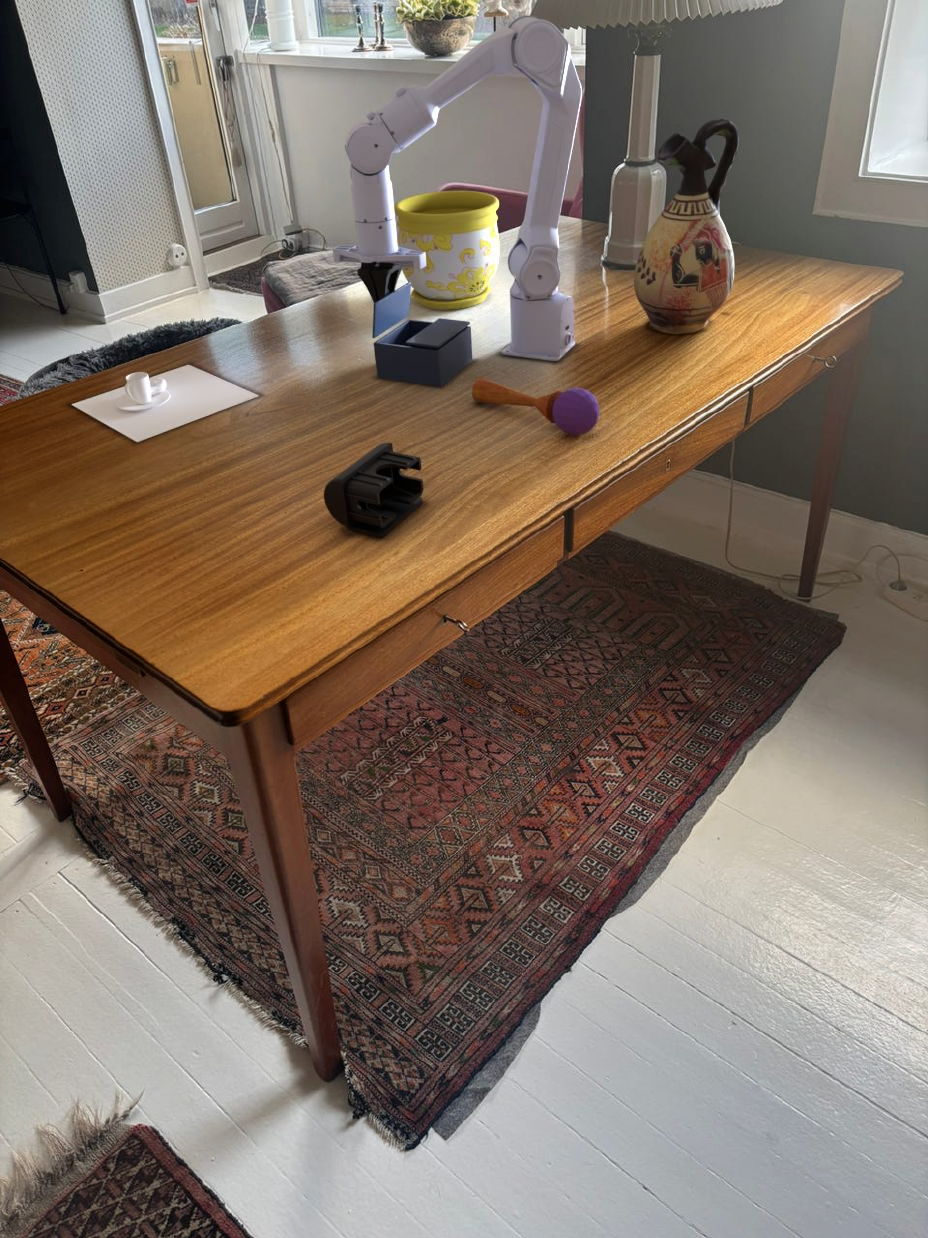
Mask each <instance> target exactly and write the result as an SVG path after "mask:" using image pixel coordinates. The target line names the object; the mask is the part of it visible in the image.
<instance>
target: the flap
mask: <svg viewBox="0 0 928 1238" xmlns="http://www.w3.org/2000/svg"><path fill="white" fill-rule="evenodd" d="M411 294H412V286H411V282H408V281H407V283H405V284H403V285H401V286H400V287H399V288H397V289H395V291H393V292H392V293H390V294H388V295H387V296H385V297H384V298H382V299H380V300H379V301H377V302H375V303H373V310H372V311H373V312H372V334H371V335H372V336H371V339H376V338H377V337H379V336H380V335H382V334H383V333H385V332H387V331H389V330H390V329H391V328H392V327H394V326H396V325H398V323H400V322H401V321H403V320H404V319H406V318H407V317H409V316H410V305H411Z"/></svg>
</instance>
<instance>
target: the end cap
mask: <svg viewBox="0 0 928 1238" xmlns="http://www.w3.org/2000/svg"><path fill="white" fill-rule="evenodd" d="M422 469H423V468H422V459H421V457H420V456H416V455H410V454H408V453H407V454H406V453H401V452H397V451H394V445H393V443H392V442H382V443H379V444H377V445H376V446H375V447H374V448H372V449H371V450H370V451H368V452H367V453H366V454H364V455H363V456H362V457H360V458H359V459H358V460H356V461H355V462H354V463H352V464H350V465H349V466H348V467H346V469H344V470H343V471H341V472H340V473H339V474H337V475H336V476H335V477H333V478H332V479H330V480H329V481H328V482H327V483H326V484H325V487H324V489H323V500H324V505H325V507H326V509H327V511H328V513H329V514H330V515H331V517H332V518H333V519H334V520H335V521H336V522H338V523H339V524H340V525H342V526H343V527H345V528H346V529H347V530H349V531H351V532H354V533H357V534H359V535H360V534H361V535H364V536H368V537H371V538H376V539H384V538H386V536H388V535H389V534H390V533H391V532H392V531H393V530H394V529H396V528H397V527H398V526H399V525H400V524H401V523H402V522H403V521H405V520H406V519H407V518H409V517H410V515H411V514H413V513H414V512H415V511H416V510H418V508H419V507H421V506H422V505H423V503H424V502H423V498H422V497H421V496H422V495H423V492H424V481H423V478H419V477H414V476H409V475H405V474H404V473H403V472H402V470H403V471H408V470H415V471H418V472H420V471H421V470H422Z"/></svg>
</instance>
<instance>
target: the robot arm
mask: <svg viewBox="0 0 928 1238" xmlns="http://www.w3.org/2000/svg"><path fill="white" fill-rule="evenodd" d="M515 69H516V70H517V71H519V72H520V73H521V74H523V75H524V76H525V77H526V78H528V80H529V82H530V83H531V84H532V86H533V88H534V90H536V92H537V94H538V95H539V96H540V98H541V99H542V107H541V114H540V120H539V127H538V131H537V132H538V133H537V138H536V144H535V150H534V157H533V162H532V168H531V175H530V181H529V187H528V193H527V200H526V204H525V205H526V206H525V212H524V218H523V221H522V223H521V225H520V227H519V228H518V233H517V236H516V241H515V242H514V244H513V246H512V248H511V249H510V251H509V253H508V255H507V267H508V268H507V269H508V271H509V273H510V274H511V276H513V278H514V280H513V283H512V285H511V287H510V288H509V309H510V310H509V312H510V313H509V314H510V316H509V317H510V343H509V344H508V345H507V346H506V347H505V348H504V349H502V350H501V355H503V356H509V357H510V356H511V357H518V358H527V359H535V360H543V361H551V362H559V361H560V360H561V359H562V358H563V357H564V356H565V355H566V354H567V353H568V352H569V351H570V350H571V349H572V348H573V347H574V346H575V345H576V341H575V338H574V337H575V303H574V299H573V297H572V296H571V295H568V294H563V293H561V292H559V291H558V290H559V289H558V285H559V283H560V280H561V269H560V265H559V259H558V258H559V251H560V243H559V233H558V227H559V223H560V217H561V211H562V205H563V200H564V194H565V190H566V184H567V179H568V173H569V168H570V162H571V157H572V151H573V147H574V141H575V136H576V135H575V134H576V129H577V124H578V119H579V113H580V109H581V108H580V107H581V103H582V97H583V94H582V93H583V89H582V84H581V81H580V80H579V76H578V73H577V69H576V67H575V63H574V61H573V58H572V55H571V46H570V42H569V41H568V39H566V37H565V35H563V33H562V32H561V31H560V30H559V28H558V27H557V26H556V25H555V24H554V23H552V22H551V21H549V20H546V19H544V18H543V19H542V18H541V19H539V18H538V17H536V16H533V15H529V14H526V15H525V14H524V15H520V16H518V17H516V18H515V19H513V20H512V21H511V22H509V24H508V26H501V27H500V28H498V29H497V30H495V31H494V32H492V33H491V34H490V35H488V36H486V37H485V38H483V39H482V40H481V41H479V42H478V43H477V44H476V45H475V46H474V47H472V48H471V49H470V50H469V51H467V52H466V53H465V54H464V55H463V56H461V57H460V58H458V60H457V61H455V62H454V63H453V64H452V65H450V66H449V67H447V69H446V70H445V71H443V72H442V73H441V74H439V75H438V76H437V77H436V78H435V79H433V80H432V81H431V82H430V83H429V84H427V85H426V86H421V85H417V84H410V85H408V87H406V88H405V87H404V85H400V86H399V87H398V88H396V89H395V90H394V94H395V95H396V96H395V97H393V98H392V99H390V100H389V101H388V102H386V104H384V105H382V106H381V107H380V108H379V109H377V111H375V112H374V111H373V110H369V111H368V112H367V113H366V115H365V116H366V118H367V120H368V121H360V122H357V123H355V124H354V125H353V126H351V128H350V129H349V131H348V133H347V135H346V137H345V144H344V150H345V153H346V155H347V158H348V160H349V162H350V170H349V175H350V179H351V184H350V190H351V191H350V192H351V199H352V209H353V216H354V223H355V234H356V243H357V244H355V245H341V244H339V245H337V246H335V247H334V248H332V257H333V263H342V262H345V263H346V262H347V263H348V262H349V263H357V264H358V263H359V264H360V268H357V270H356V273H357V276H358V277H359V278H360V280H361V281H362V283H363V285H364V286H365V287H366V290H367V291H368V293H369V296H370V299H371V300H372V303H373V304H374V303H375V302H377V301H379V300H380V299H382V298H384V297H385V296H387V295H388V294H390V293H392V292H393V291H395V290H396V287H397V284H398V281H399V278H400V275H401V272H403V271H402V268H403V267H413V268H414V269H418V270H420V269H422V268H424V267H425V266H426V254H425V252H419V251H414V250H410V249H406V248H401V247H398V235H397V223H396V214H395V212H394V207H395V204H394V203H395V202H394V193H393V191H394V190H393V183H392V181H391V177H390V168H389V164H390V163H391V160H392V155H393V154H399V153H401V152H402V151H403V150H405V149H406V148H407V147H408V146H410V145H411V144H413V143H414V142H415V141H416V140H418V139H420V137H422V136H423V135H424V134H426V133H427V132H428V131H430V130H431V129H433V128H434V127H435V126H436V125H437V121H438V116H439V112H440V110H441V109H442V108H444V107H445V106H447V105H448V104H449V103H451V102H453V101H454V100H455V99H457V98H458V97H460V96H461V95H463V94H464V93H465V92H467V91H469V90H470V89H471V88H473V87H475V86H476V85H478V83H480V82H481V81H483V80H484V79H486V78H488V77H490V76H491V75H514V74H515Z"/></svg>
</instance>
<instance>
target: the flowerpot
mask: <svg viewBox="0 0 928 1238" xmlns="http://www.w3.org/2000/svg"><path fill="white" fill-rule="evenodd" d="M499 206H500V201H499V199H498V198H497V197H496V196H495V195H493V194H489V193H486V192H481V191H474V190H473V191H472V190H444V191H433V192H426V193H421V194H416V195H412V196H408V197H405V198H403V199H400V200H398V202H396V203H395V204H394V213H395V216H396V217H398V220H397V223H396V226H397V227H398V236H397V245H398V247H401V248H406V249H410V250H414V251H419V252H425V254H426V266H425V267H424V268H422V269H420V270H418V269H414V268H413V267H403V268H402V271H401V272H402V273H403V276H404V278H405V280H406V281H407V283H408V282H411V289H412V290H411V296H412V298H413V299H415V300H416V301H417V302H418V304H419V305H421V306H423V307H425V308H428V309H434V310H461V309H466V308H470V307H474V306H477V305H479V304H481V303H483V302H484V301H485V300H486V298H487V296H488V295H489V294H490V293H491V291H492V288H491V286H490V283H491V282H492V280H493V278H494V277H495V274H496V273H497V269H498V265H499V262H500V237H499V229H498V223H497V221H498V219H499V217H498V215H497V212H496V211H497V210H498V209H499V208H500V207H499Z"/></svg>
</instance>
